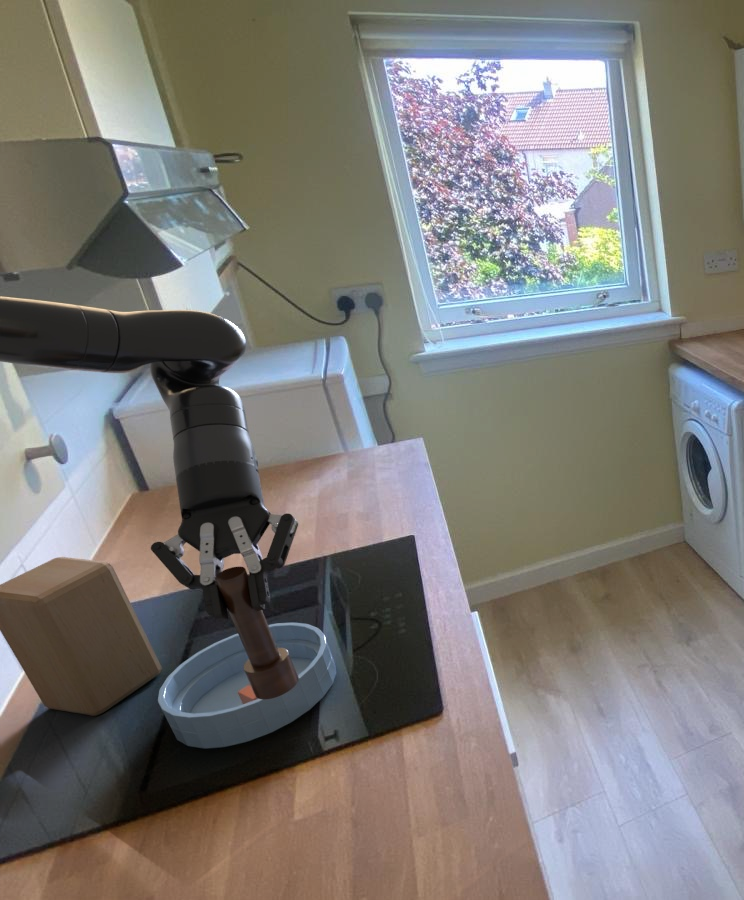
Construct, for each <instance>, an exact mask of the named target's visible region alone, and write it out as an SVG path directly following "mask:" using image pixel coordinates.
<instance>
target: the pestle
mask: <svg viewBox="0 0 744 900" xmlns="http://www.w3.org/2000/svg"><path fill="white" fill-rule="evenodd" d="M247 576H249V574H248V571H247V570H246V568H245V567H244V566H232V567H228V568H226V569H222V571H221V572H220V573H218V574H217V575H216V576H215V578H214V579H215V581H216V584H217V586H218V588H219V591H220V593H221V595H222V598H223V600H224V602H225V605H226V607H227V612H228V615H229V616H230V619H231V620H232V623H233V625H234V628H235V630H236V632H237V633H238V635H239V637H240V639H241V642H242V644H243V646H244V649H245V651H246V653H247V656H248V658H249V659H248V660H247V661H246V663H245V664H244V667H243V669H244V671H245V674H246V676H247V678H248V680H249V683H250V685H251V687H252V690H253V692H254V694H255V696H256V697H257V698H259V699H272V698H276V697H278V696H281V695H283V694H285V693H287V692H288V691H290V690H291V689H292V688H294V687H295V685H296V684H297V683H298V680H299V678H298V675H297V673H296V670H295V668H294V665H293V663H292V660H291V657H290V655H289V652H288V650H287V649H285V648H277V646H276V643H275V641H274V638H273V636H272V633H271V631H270V628H269V626H268V625H269V623H268V621H267V619H266V616H265V614H264V611H263V610H260V611H256V610H254V609H253V607H252V604H251V598H250V592H249V586H248V580H247Z"/></svg>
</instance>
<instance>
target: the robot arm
mask: <svg viewBox="0 0 744 900" xmlns="http://www.w3.org/2000/svg"><path fill="white" fill-rule="evenodd" d="M246 349H247V340H246V336H245V335H244V332H242V330H241V329H240V328H239V327H238V326H237V325H236V324H234V323H233V322H232V321H230V320H228V319H227V318H224V317H222V316H220V315H217V314H215V313H212V312H207V311H202V310H195V309H160V310H159V309H158V310H157V309H156V310H154V309H153V310H136V311H117V310H112V309H105V308H98V307H92V306H85V305H79V304H71V303H65V302H57V301H50V300H39V299H32V298H31V299H30V298H21V297H13V296H12V297H11V296H10V297H9V296H0V362H1V363H7V364H13V365H14V364H16V365H20V366H21V365H22V366H28V367H29V366H30V367H38V368H47V369H55V370H56V369H57V370H67V371H80V372H92V373H93V372H94V373H103V374H104V373H106V374H126V373H131V372H133V371H137V370H138V369H140V368H142V367H145V366H147V365H149V371H150V375H151V377H152V380H153V382H154V384H155V387H156V388H157V390H158V393H159V395H160V396H161V399H162V401H163V402H164V404H165V405H166V407H167V409H168V411H169V419H170V427H171V434H172V440H173V452H172V459H173V467H174V476H175V482H176V486H177V487H176V488H177V496H178V503H179V509H180V515H181V522H180V525H179V528H178V530H177V534H176V535H174V536H172V537H170V538H169V539H167V540H166V541H164V542H163V541H155V542H154V543H152V544H151V545H150V550H151V552H152V554H153V555H155V556H156V557H157V559H158V560H159V561H160V562H161V563H162V564H163V566H164V567H165V568H166V569H167V570H168V572H170V574H171V575H172V576H173V577H174V578H175V580H176V581H178V583H179V584H181V585H182V586H183V587H186V588H187V589H189V590H202V594H203V595H202V596H203V601H204V606H205V607H204V608H205V612H206V613H207V615H208V616H210V617H212V618H214V619H215V620H217V621H219V622H222V621H226V620H228V619H229V612H228V609H227V607H226V605H225V602H224V600H223V598H222V595H221V593H220V591H219V588H218V586H217V584H216V581H215V579H214V578H215V576H216V575H217V574H218V573H220V572H221V571H223V570H224V568H225V558H228V557H230V556H232V555H239V554H240V555H241V557H242V558H243V560H244V563H245V565H246V568H247V571H248V573H249V574H248V576H247V580H248V586H249V592H250V598H251V604H252V607H253V609H254V610H256V611H260V610H262V611H263V610H266V604H270V601H271V594H270V590H269V589H270V588H269V582H268V576H269V574H270V573H271V572H273V571H275V570H278V569H282V568H283V567H285V564H286V562H287V559H288V557H289V554H290V550H291V547H292V544H293V541H294V538H295V535H296V532H297V530H298V528H299V522H298V520H297V519H296V517H295V516H293V515H292V514H291V513H288V512H287V513H283V514H282V515H281V514H273V513H272V512H271V511H269V510H268V509H267V508H266V506H265V501H264V497H263V491H262V485H261V479H260V473H259V462H258V459H257V457H256V452H255V447H254V445H253V442H252V439H251V437H250V433H249V432H250V431H249V428H248V422H247V421H248V420H247V415H246V410H245V405H244V403H243V400H242V398H241V397H240V395H239V394H238V393H237V392H236V391H235V390H233V389H231V388H229V387H226V386H223V385H222V386H221V385H220V378H221V377H222V376H223V375H224V374H225V373H227V372H228V371H229V370H230V369H231V368H232V367H234V365H236V364H237V363H238V362H239V361H240V360H241V359H242V357H243V356H244V354H245V353H246ZM270 525H271V531H272V532H273V533H274V535H273V538H272V541H271V544H270V546H269V548H268V552H267V555H266V557H264V558H263V554H262V552H261V550H260V547H259V545H258V543H259V542H260V540H261V539H262V538H263V536H264V534H265V532H266V531H267V529H268V528H269V526H270ZM186 543H187V544H188V545H190V546H191V547H193V548H194V549H195V550H197V551H198V552H199V557H198V558H199V559H198V560H199V565H200V572H199V573H200V574H195V573H194V572H193V571H192V570H191V568H190V567H189V566H188V565H187V564H186V562H185V561H184V560H183V559H182V557H183V556H184V555H185V550H184V545H185V544H186Z"/></svg>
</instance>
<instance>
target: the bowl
mask: <svg viewBox="0 0 744 900" xmlns="http://www.w3.org/2000/svg"><path fill="white" fill-rule="evenodd" d="M268 626H269V628H270V631H271V633H272V636H273V638H274V641H275V643H276V646H277V648H285V649H287V650H288V652H289V655H290V657H291V660H292V663H293V665H294V668H295V670H296V673H297V675H298V678H299V680H298V683H297V684H296V685H295V687H294V688H292V689H291V690H290V691H288V692H287V693H285V694H283V695H281V696H278V697H276V698H272V699H257V700H254V701H251V702H249V703H246V704H243V703H242V701H241V699H240V696H239V694H238V691H240V690H242V689H243V688H245V687H246V686H248V685H250V683H249V680H248V678H247V676H246V674H245V671H244V669H243V667H244V664H245V663H246V661H247V660H248V659H249V658H248V656H247V653H246V651H245V649H244V646H243V644H242V642H241V639H240V637H239V635H238V632H237V633H234V634H232V635H230V636H228V637H225V638H223V639H221V640H219V641H218V640H217V641H216V642H214V643H212V644H210V645H208V646H207V647H205V648H203V649H201V650H199V651H198V652H196V653H195V654H193V655H192V656H190V657H189V658H188V659H186V660H185V661H183V662H182V663H181V664H179V665H178V666H177V667H176V668H175V669H174V670H173V671H172V672H171V673H170V674H169V675H167V676H166V678H165V680H164V682H163V684H162V685H161V687H160V688H159V690H158V697H157V703H158V704H159V707H160V709H161V711H162V713H163V715H164V716H165V719H166V720H167V723H168V725H169V726H170V727H169V728H171V731H172V733H173V735H174V737H175V739H176V740H177V741H178V742H180V743H182V744H184V745H185V746H187V747H191V748H199V749H217V748H227V747H231V746H236V745H240V744H243V743H247V742H251V741H253V740H255V739H258V738H261V737H264V736H266V735H269V734H271V733H274V732H275V731H277V730H279V729H281V728H283V727H285V726H287V725H288V724H291V723H292V722H294V721H295V720H297V719H298V718H300V717H301V716H302V715H304V714H306V713H307V712H309V711H310V710H311V709H312V708H313V707H315V706H316V705H317V703H319V702H320V701H321V700H322V699H323V698H324V697H325V696H326V694H327V693H328V692H329V690H330V689H331V687H332V686H333V684H334V683H335V679H336V676H337V674H338V673H337V666H336V662H335V659H334V656H333V654H332V651H331V647H330V646H329V643H328V639H327V637H326V634H324V633H323V631H322V630H321V629H320V628H319V627H316V626H315V625H311V624H309V623H303V622H294V621H293V622H280V623H272V624H268Z"/></svg>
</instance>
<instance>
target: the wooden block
mask: <svg viewBox="0 0 744 900" xmlns="http://www.w3.org/2000/svg"><path fill="white" fill-rule="evenodd" d="M133 607H134V606H132V603H131V601H130V599H129V597H128V595H127V593H126V591H125V589H124V587H123V585H122V583H121V580H120V578H119V577H118V573H116V570H115V568H114V566H113V565H112V564H110V562H108V561H102V560H94V559H84V558H76V557H66V556H59V557H55V558H52V559H50V560H48V561H46V562H44V563H42V564H40V565H38V566H36V567H33V568H31V569H29V570H27V571H25V572H24V573H22V574H19V575H17V576H15V577H13V578H11V579H9V580H7V581H5V582H3V583H1V584H0V633H1V634H2V636H3V638H4V639H5V641H6V643H7V645H8V646H9V648H10V650H11V652H12V654H13V655H14V656H15V658H16V660H17V662H18V664H19V665H20V667H21V669H22V670H23V673H24V674H25V675H26V677H27V679H28V681H29V682H30V684H31V685H32V687H33V689H34V691H35V693H36V694H37V695H38V698H39V699H40V701H41V702H42V705H43V706H44V707H46V708H47V709H51V710H57V711H62V712H67V713H68V712H69V713H75V714H81V715H87V716H93V717H94V716H98V715H102V714H103V713H105V712H107V711H108V710H109V709H111V708H112V707H114V706H115V705H117V704H118V703H119V702H121V701H123V700H124V699H125V698H127V697H128V696H130V695H131V694H133V693H134V692H135V691H137V690H138V689H140V688H142V686H144V685H146V684H147V683H149V682H150V681H151V680H153V679H154V678H156V677H157V676H158V675H160V674H161V673H162V670H163V668H162V667H163V666H162V665H161V662H160V661H159V659H158V657H157V655H156V653H155V650H154V648H153V646H152V644H151V642H150V640H149V638H148V636H147V634H146V632H145V630H144V628H143V626H142V624H141V621H140V619H139V618H138V615H137V613H136V611H135V609H134V608H133Z"/></svg>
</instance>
